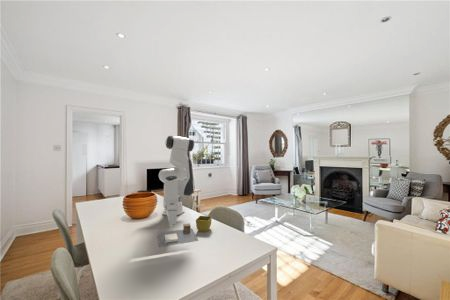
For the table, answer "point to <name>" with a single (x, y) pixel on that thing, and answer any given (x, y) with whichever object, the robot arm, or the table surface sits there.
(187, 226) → the walnut block
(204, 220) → the flower pot
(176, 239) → the tile
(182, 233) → the board
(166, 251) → the table surface
